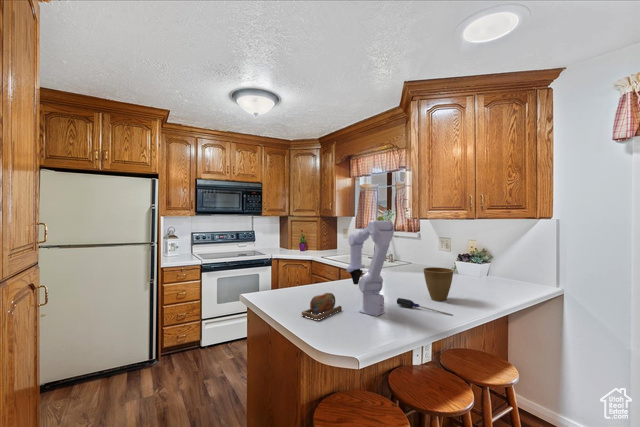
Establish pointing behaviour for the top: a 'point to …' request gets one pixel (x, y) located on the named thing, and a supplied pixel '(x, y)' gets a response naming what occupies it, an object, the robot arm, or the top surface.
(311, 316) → the brown beaded frame
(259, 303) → the top surface
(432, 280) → the plant pot
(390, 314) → the top surface
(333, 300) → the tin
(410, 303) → the screwdriver
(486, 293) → the top surface
